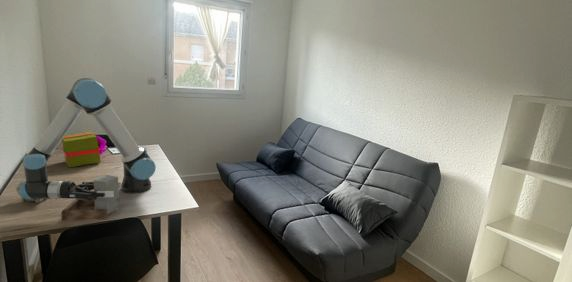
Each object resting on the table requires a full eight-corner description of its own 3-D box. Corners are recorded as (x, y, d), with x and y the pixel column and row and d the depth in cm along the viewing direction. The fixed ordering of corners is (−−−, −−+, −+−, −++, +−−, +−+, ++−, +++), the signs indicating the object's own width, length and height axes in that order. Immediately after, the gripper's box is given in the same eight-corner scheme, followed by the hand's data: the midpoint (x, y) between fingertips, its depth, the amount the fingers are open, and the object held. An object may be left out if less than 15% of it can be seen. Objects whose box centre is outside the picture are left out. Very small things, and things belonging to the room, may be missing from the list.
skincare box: (106, 215, 143) (106, 183, 139) (92, 212, 144) (91, 179, 140) (120, 207, 151) (119, 176, 147) (107, 204, 152) (106, 173, 148)
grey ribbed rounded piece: (27, 195, 161) (25, 174, 158) (60, 198, 160) (58, 176, 157) (8, 204, 150) (5, 181, 148) (43, 206, 150) (40, 184, 147)
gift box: (69, 173, 203) (112, 164, 218) (63, 143, 194) (109, 136, 210) (63, 159, 216) (104, 152, 232) (58, 131, 208) (101, 125, 224)
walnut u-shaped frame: (62, 220, 139) (61, 211, 138) (77, 206, 153) (76, 198, 152) (106, 219, 142) (105, 210, 141) (116, 205, 156) (116, 197, 155)
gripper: (75, 188, 153) (125, 188, 157) (50, 208, 132) (109, 207, 136) (73, 173, 152) (124, 173, 156) (48, 191, 130) (107, 191, 134)
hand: (117, 189), depth 146 cm, fingers closed on skincare box, 10 cm apart
